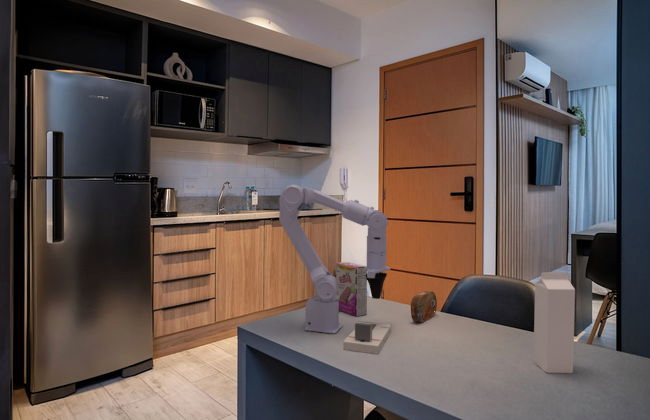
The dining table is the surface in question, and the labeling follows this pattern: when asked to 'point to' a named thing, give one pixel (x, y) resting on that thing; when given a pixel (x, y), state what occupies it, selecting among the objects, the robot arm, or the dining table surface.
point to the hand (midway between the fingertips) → (376, 298)
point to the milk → (554, 323)
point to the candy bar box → (352, 288)
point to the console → (372, 346)
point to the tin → (423, 306)
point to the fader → (363, 330)
